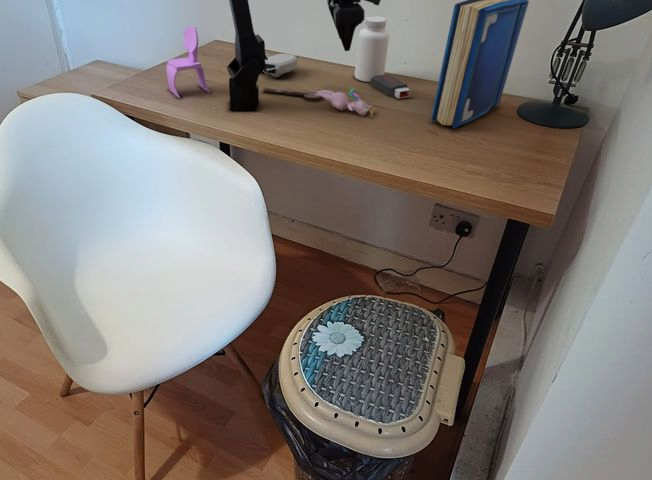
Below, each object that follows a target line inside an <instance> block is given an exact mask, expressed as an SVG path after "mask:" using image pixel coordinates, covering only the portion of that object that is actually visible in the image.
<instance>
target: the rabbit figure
mask: <svg viewBox="0 0 652 480" xmlns="http://www.w3.org/2000/svg"><path fill="white" fill-rule="evenodd" d="M356 91H357V89H356V88H353V87H352V88H350V90H349V91H348V94H349V95H348V96H349V97H350V98H351V99H353V100H355V101H351V102H350V101H349V98H348V96H347V94H346V93H344V92H342V91H336V92H334V91H332V90H329V89H323V90H319V91H316V92H317V94H314V95H315V96H317V95H319V96H321V98H323V99H325V100H327V101H328V102H330V103H331V104H330V105H331V106H332V107H333V108H336V109H337V110H339V111H340V112H342V111H344V110H346V109H347V108H348V110H349V111H351V112H356V113H357V114H359V116H364V117H365V116H366V115H368V113H369V112H370V117H372V116H373V114H374V113H376V110H377V105H376V106H374V105H373V104H368V103H367V102H366V101H364V100H362V99H361V98H360V96H359V95H358V94H357V93H355V92H356ZM371 109H373V110H371Z"/></svg>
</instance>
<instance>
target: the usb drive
mask: <svg viewBox="0 0 652 480" xmlns="http://www.w3.org/2000/svg"><path fill="white" fill-rule="evenodd" d="M370 86H371V87H373V88H374V89H376V90H378V91H379V92H381V93H383V94H385V95H386V96H388V97H392V98H397V99H398V100H400V99H405V98H410V97H411V89H410V88H408V84H406V83H405V82H403V81H401V80H399V79H398V78H396V77H394V76H392V75H391V74H389V73H384V75H377V76H373V77H372V78H371V82H370Z"/></svg>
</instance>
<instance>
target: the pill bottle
mask: <svg viewBox="0 0 652 480" xmlns="http://www.w3.org/2000/svg"><path fill="white" fill-rule="evenodd" d="M364 21H365V23H364V28H362V29H360V31H359V34H358V36H357V48H356V56H355V67H354V78H355V79H356V80H358V81H361V82H364V83H365V82H366V83H371V78H372V77H373V76H377V75H384V74H385V69H386V62H387V56H388V49H389V42H390V33H389V31H388V30H387V29H386V26H387V19H386V18H385V17H382V16H376V15H375V16H374V15H373V16H367V17H365V19H364Z"/></svg>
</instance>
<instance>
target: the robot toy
mask: <svg viewBox="0 0 652 480" xmlns="http://www.w3.org/2000/svg"><path fill="white" fill-rule="evenodd" d="M265 54H266V56H267V58H268V60H265V63H266V66H265V69H264V70H263V72H264V74H268V75H270V76H272V77H273V78H278V77H279V78H280V77H281V76H282V75H285V74H287V73H290V72H292V71H294V70H295V69H296V68H297V66H298V58H303V55H302V54H301V55H298V56H296V55H295V54H290V53H278V54H277V53H276V54H273V55H269V54H268V53H265ZM263 72H262V73H263Z"/></svg>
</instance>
